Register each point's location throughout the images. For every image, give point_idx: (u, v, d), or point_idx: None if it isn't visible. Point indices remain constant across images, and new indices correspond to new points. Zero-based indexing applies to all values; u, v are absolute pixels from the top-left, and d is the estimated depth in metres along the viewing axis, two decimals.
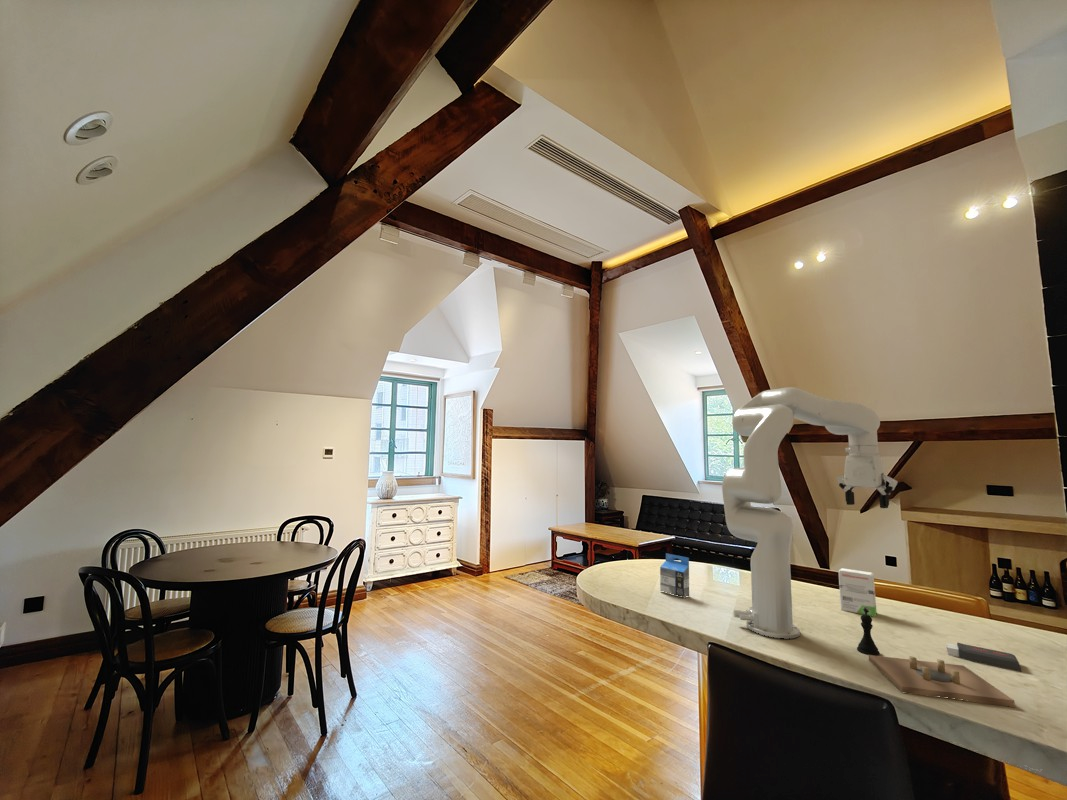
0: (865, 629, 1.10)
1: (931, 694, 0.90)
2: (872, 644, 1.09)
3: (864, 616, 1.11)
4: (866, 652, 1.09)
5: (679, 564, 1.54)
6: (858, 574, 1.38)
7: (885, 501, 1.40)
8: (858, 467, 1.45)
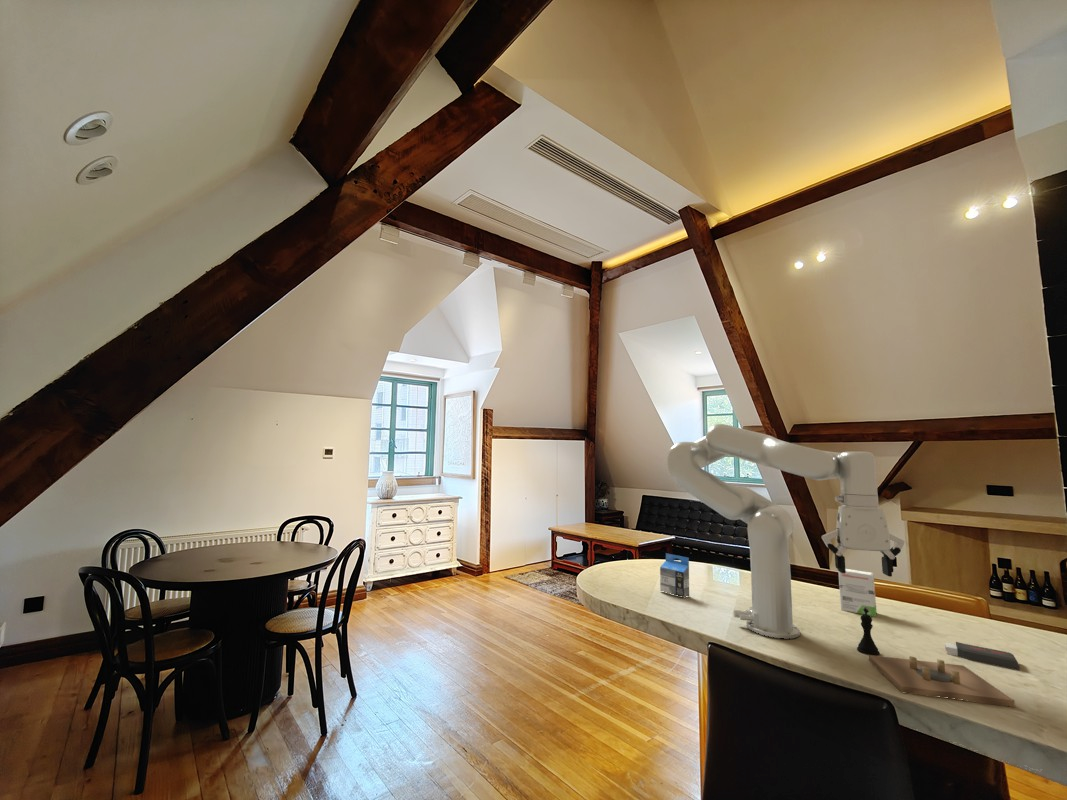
0: (865, 629, 1.10)
1: (931, 694, 0.90)
2: (872, 644, 1.09)
3: (864, 616, 1.11)
4: (866, 652, 1.09)
5: (679, 564, 1.54)
6: (858, 574, 1.38)
7: (892, 567, 1.10)
8: (864, 524, 1.11)
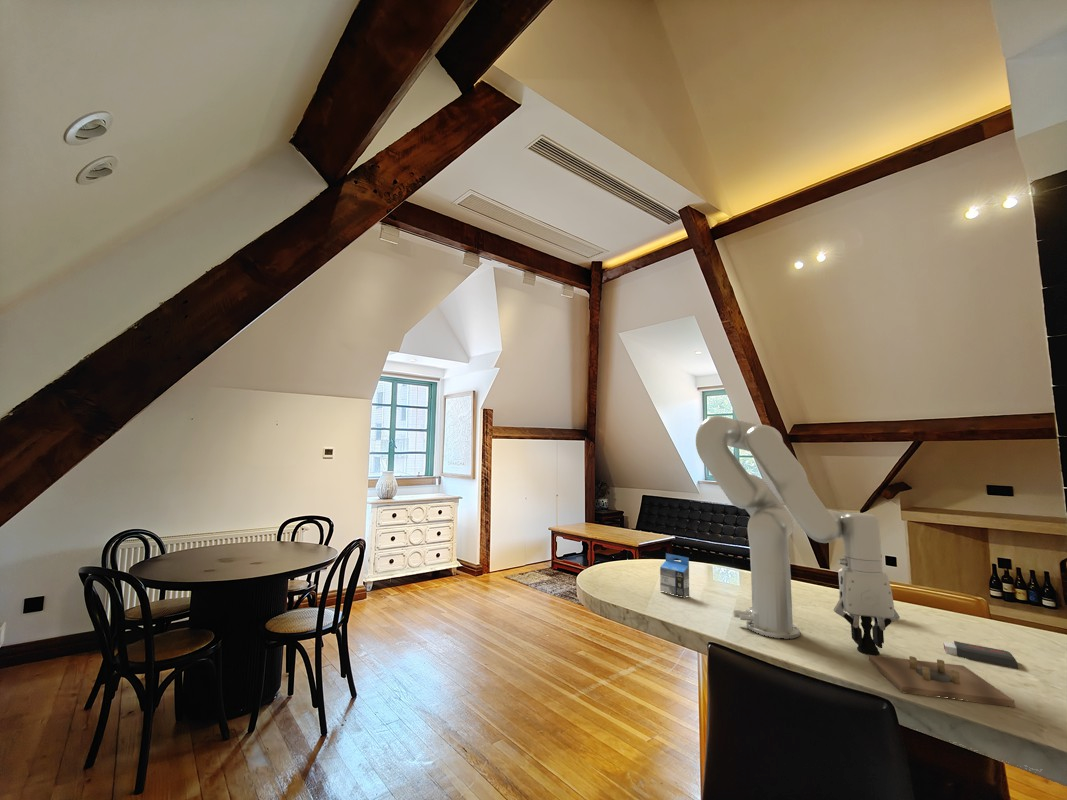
0: (865, 629, 1.10)
1: (931, 694, 0.90)
2: (872, 644, 1.09)
3: (864, 616, 1.11)
4: (866, 652, 1.09)
5: (679, 564, 1.54)
6: None
7: (882, 638, 1.09)
8: (868, 590, 1.09)
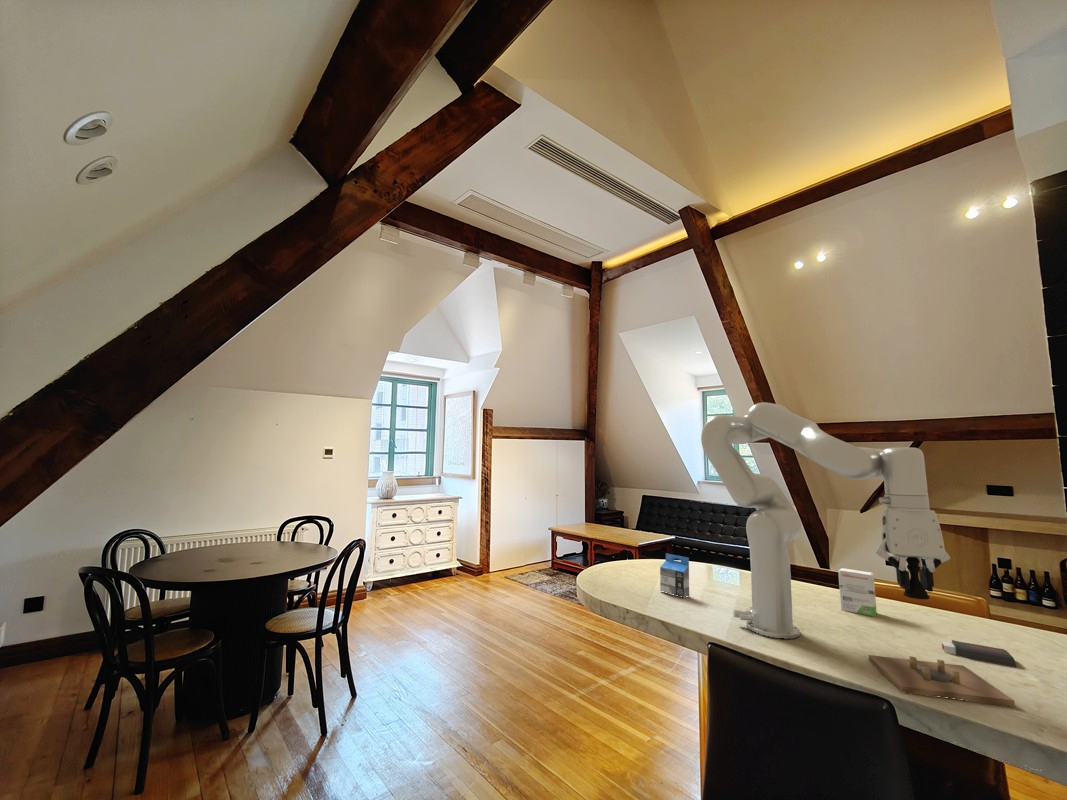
0: (912, 572, 1.01)
1: (931, 694, 0.90)
2: (921, 587, 1.00)
3: (910, 558, 1.01)
4: (915, 596, 0.99)
5: (679, 564, 1.54)
6: (858, 574, 1.38)
7: (932, 581, 1.00)
8: (915, 528, 1.00)
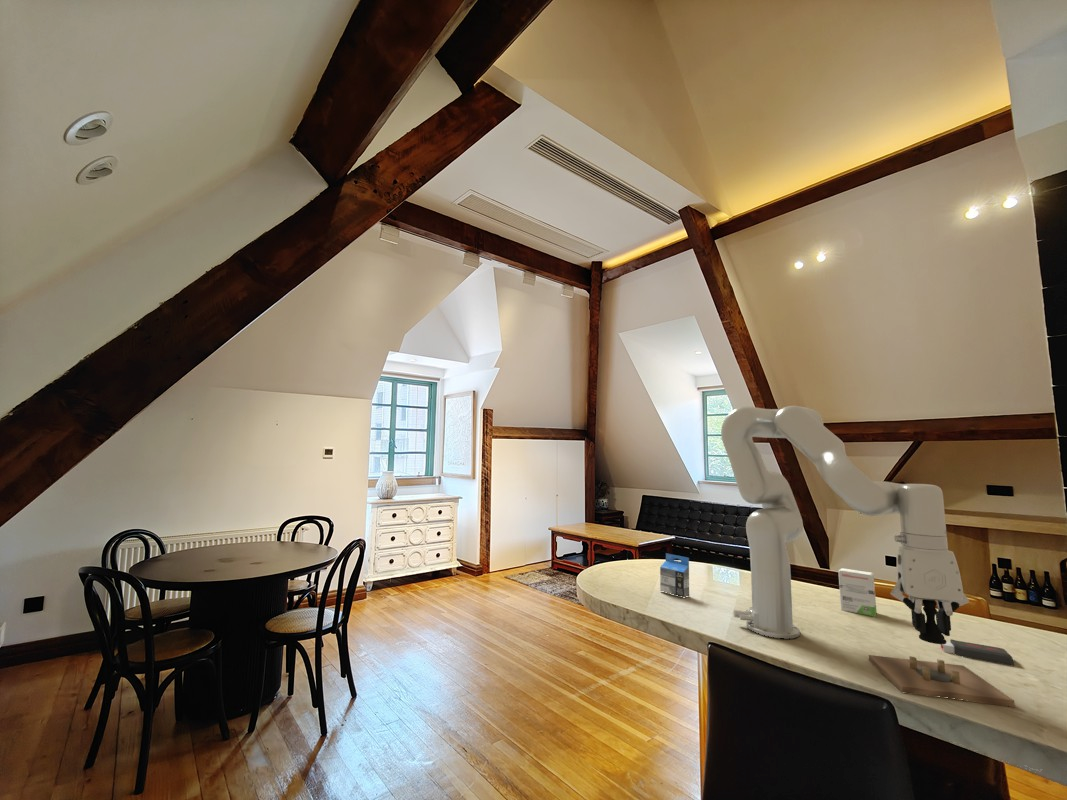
0: (929, 614, 0.97)
1: (931, 694, 0.90)
2: (937, 631, 0.96)
3: (927, 600, 0.97)
4: (931, 640, 0.95)
5: (679, 564, 1.54)
6: (858, 574, 1.38)
7: (949, 624, 0.96)
8: (932, 570, 0.96)
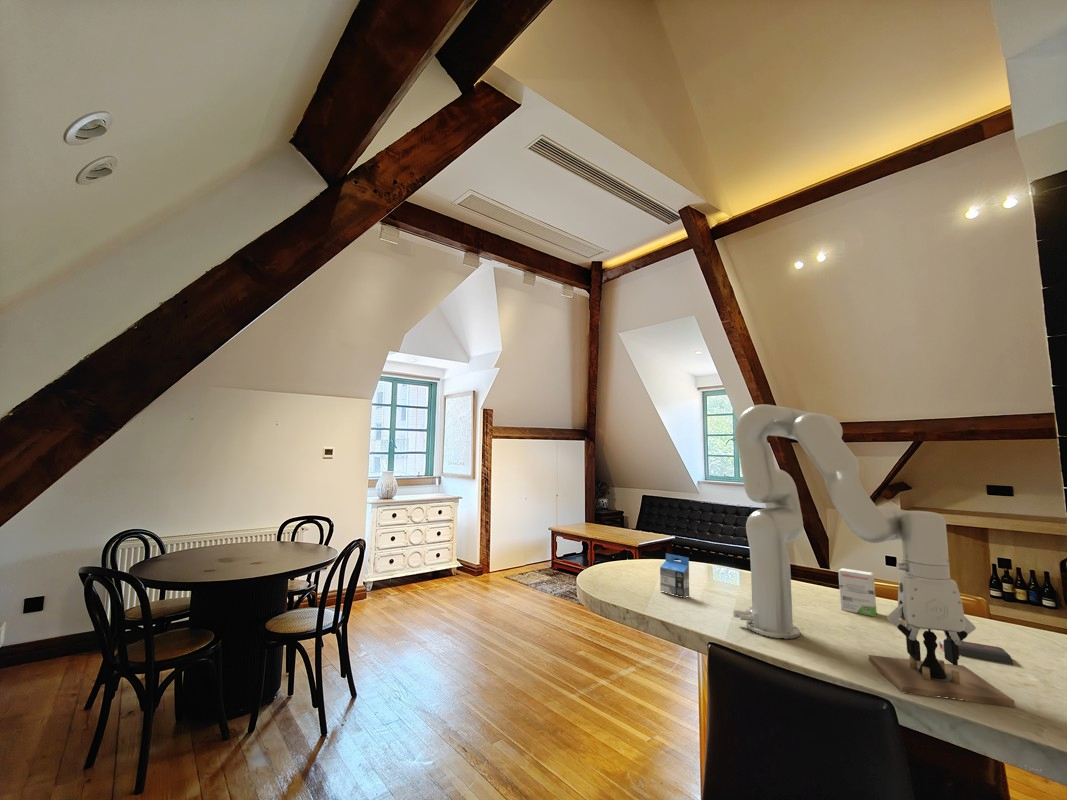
0: (929, 648, 0.96)
1: (931, 694, 0.90)
2: (938, 666, 0.95)
3: (927, 633, 0.97)
4: (932, 675, 0.95)
5: (679, 564, 1.54)
6: (858, 574, 1.38)
7: (957, 653, 0.95)
8: (934, 599, 0.95)
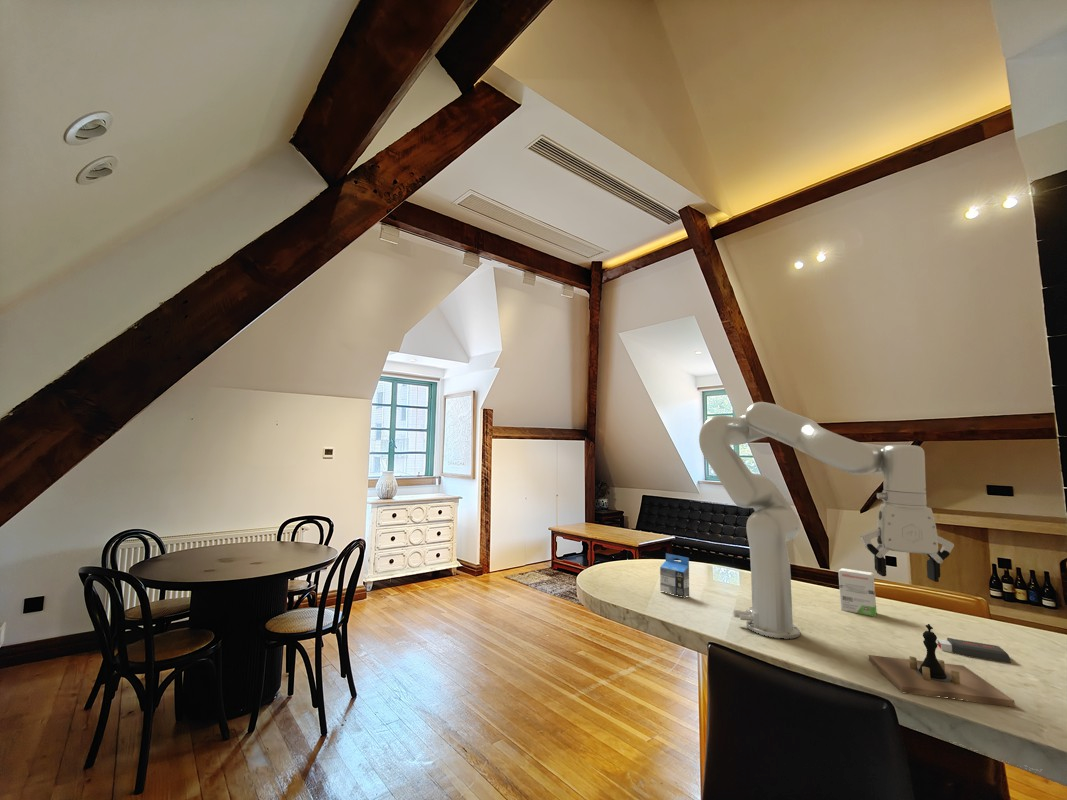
0: (929, 648, 0.96)
1: (931, 694, 0.90)
2: (938, 666, 0.95)
3: (927, 633, 0.97)
4: (932, 675, 0.95)
5: (679, 564, 1.54)
6: (858, 574, 1.38)
7: (939, 571, 1.01)
8: (910, 524, 1.02)
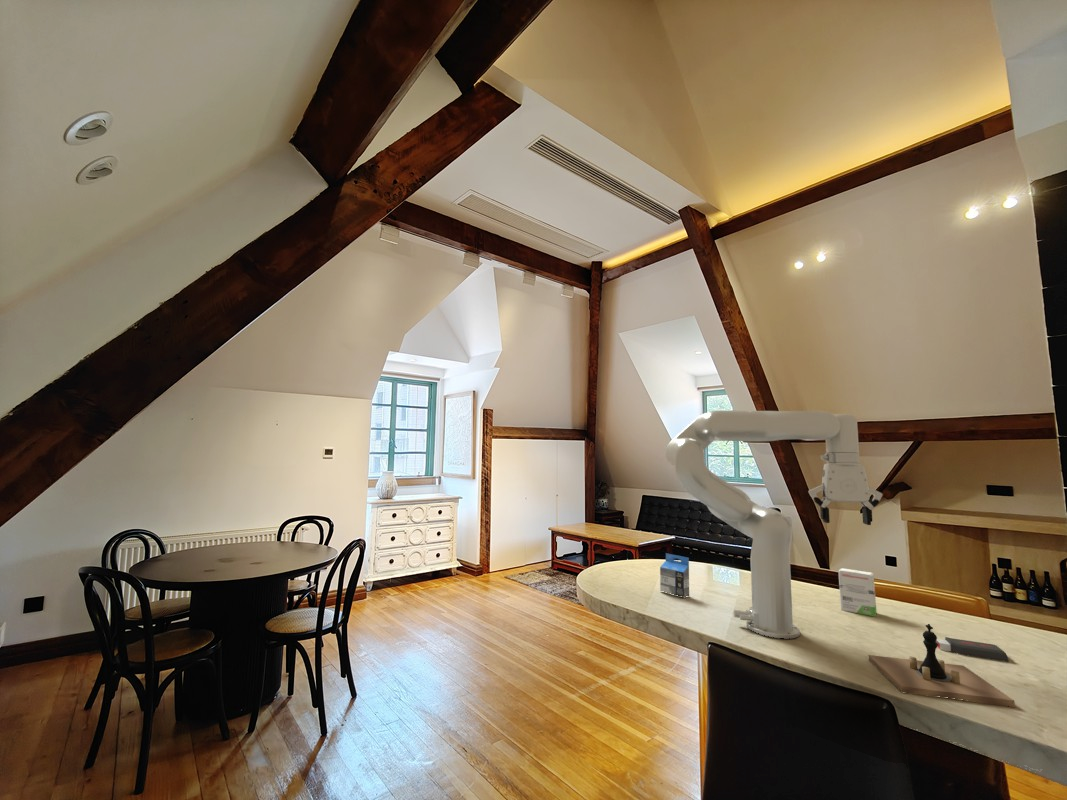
0: (929, 648, 0.96)
1: (931, 694, 0.90)
2: (938, 666, 0.95)
3: (927, 633, 0.97)
4: (932, 675, 0.95)
5: (679, 564, 1.54)
6: (858, 574, 1.38)
7: (871, 517, 1.23)
8: (847, 478, 1.24)
